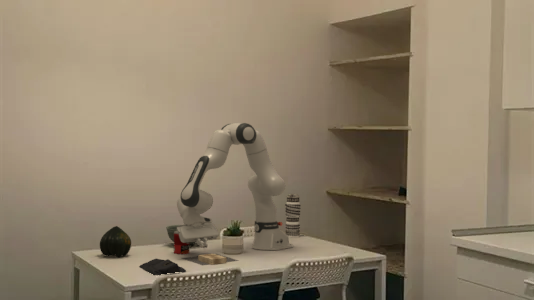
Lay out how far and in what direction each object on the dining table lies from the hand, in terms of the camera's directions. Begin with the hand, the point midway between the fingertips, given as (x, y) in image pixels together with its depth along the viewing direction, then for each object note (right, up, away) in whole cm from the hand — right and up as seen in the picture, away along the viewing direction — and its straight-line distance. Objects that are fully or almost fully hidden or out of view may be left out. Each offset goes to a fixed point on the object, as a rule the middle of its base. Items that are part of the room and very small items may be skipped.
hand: (204, 246), depth 304 cm
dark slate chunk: (-17, -7, -22) cm, 29 cm away
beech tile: (+1, -5, -1) cm, 5 cm away
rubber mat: (+3, -6, 0) cm, 7 cm away
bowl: (-14, -5, +39) cm, 41 cm away
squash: (-44, -6, +7) cm, 45 cm away
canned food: (-13, -6, +16) cm, 21 cm away
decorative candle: (+45, -5, +75) cm, 87 cm away
